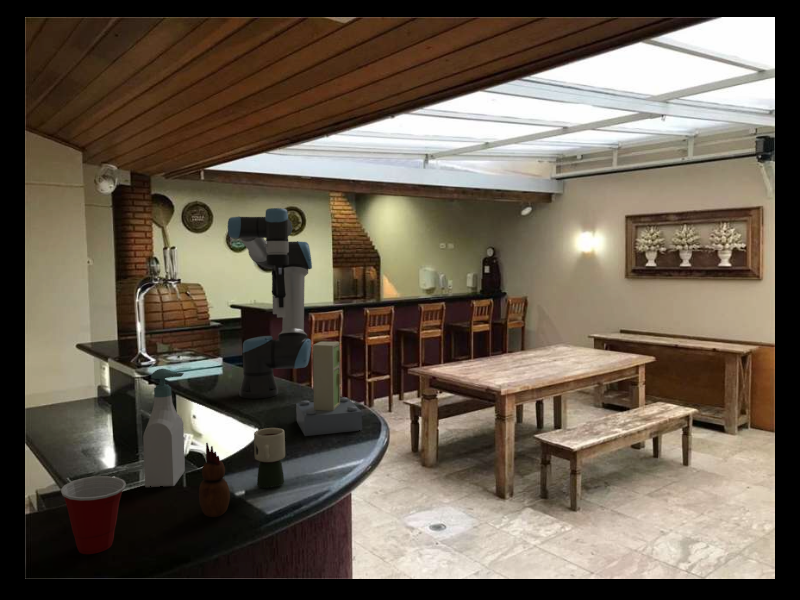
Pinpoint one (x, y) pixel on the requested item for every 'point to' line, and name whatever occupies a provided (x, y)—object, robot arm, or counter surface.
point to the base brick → (328, 418)
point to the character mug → (269, 456)
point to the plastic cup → (93, 511)
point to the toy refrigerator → (326, 375)
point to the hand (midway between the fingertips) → (278, 315)
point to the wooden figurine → (213, 486)
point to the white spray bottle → (163, 437)
